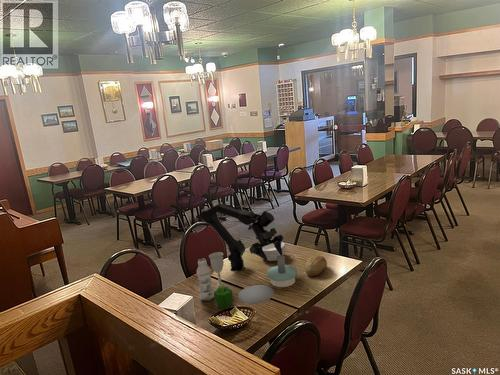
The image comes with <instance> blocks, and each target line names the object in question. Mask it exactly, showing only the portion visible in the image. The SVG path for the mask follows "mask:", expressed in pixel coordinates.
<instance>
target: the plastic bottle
mask: <svg viewBox="0 0 500 375" xmlns="http://www.w3.org/2000/svg"><path fill="white" fill-rule="evenodd" d="M197 265H198V267H197V268H196V276H197V279H198V282H199V297H200V299H201V300H202V301H203V302H208V301H211V300H212V299H214V292H215V291H214V288H213V284H212V279H211V277H212V276H211V272H212V270H211V268H210V266H209V265H208V264H207V259H206V258H200V259H198V260H197Z"/></svg>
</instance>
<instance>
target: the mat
mask: <svg viewBox="0 0 500 375" xmlns="http://www.w3.org/2000/svg"><path fill="white" fill-rule="evenodd" d="M274 293H275V292H274V289H273V288H272V287H270V286H268V285H265V284H256V285H255V284H254V285H250V286H246V287H244V288H243V289H241V290H240V291H239V292H238V294H237V296H238V297H237V299H238V300H239V301H240V302H242V303H245V304H247V305H249V304H250V305H257V304H262V303H265V302H267V301H269V300H270V299H271V298H273V296H274Z"/></svg>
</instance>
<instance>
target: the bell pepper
mask: <svg viewBox="0 0 500 375" xmlns="http://www.w3.org/2000/svg"><path fill="white" fill-rule="evenodd" d="M224 285H225V283H223V284H222V285H221V287H219V288H218V289H217V288H216V290H215V291H214V297H213V299H214V301H215V303H216V306H217V308H219V309H225V308H230V307H231V306H232V302H233V297H234V296H233V291H232V289H231V288H229V287H228V286H226V285H225V287H224Z"/></svg>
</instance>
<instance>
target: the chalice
mask: <svg viewBox="0 0 500 375" xmlns="http://www.w3.org/2000/svg"><path fill="white" fill-rule="evenodd" d="M223 256H224V253H223V252H221V251H217V252H212V253H210V254H209V255H208V258H209V259H210V260H209V261H210V266H211V267H212V269H213V271H214V272H215V273H217V278H218V279H217V281H218V283H217V285H216V290H217V289H218V288H219V287H221V285H222V284H224V282H222V278H221V276H222V275H221V272H222V270H223V268H224V263H225V262H224V257H223ZM225 286H226V285H225V284H224V287H225Z"/></svg>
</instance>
